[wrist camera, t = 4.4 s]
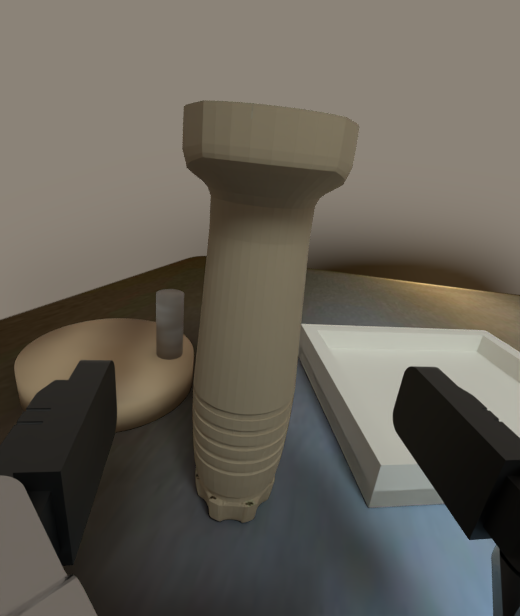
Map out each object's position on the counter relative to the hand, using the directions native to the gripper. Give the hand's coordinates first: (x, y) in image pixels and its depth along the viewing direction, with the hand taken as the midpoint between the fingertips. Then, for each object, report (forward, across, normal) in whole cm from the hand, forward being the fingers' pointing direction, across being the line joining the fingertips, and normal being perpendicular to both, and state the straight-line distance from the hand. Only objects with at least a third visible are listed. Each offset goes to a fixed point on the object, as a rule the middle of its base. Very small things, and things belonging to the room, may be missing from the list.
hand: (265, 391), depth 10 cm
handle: (+4, 0, +8) cm, 9 cm away
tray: (+10, -14, +8) cm, 19 cm away
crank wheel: (+13, +7, +8) cm, 17 cm away
